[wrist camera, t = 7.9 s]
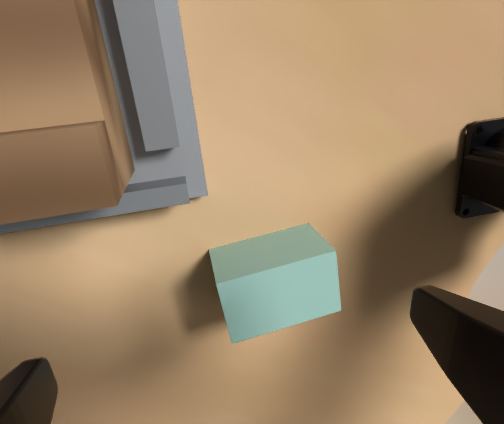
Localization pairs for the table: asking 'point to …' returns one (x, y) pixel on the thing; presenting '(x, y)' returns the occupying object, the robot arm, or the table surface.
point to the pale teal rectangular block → (276, 281)
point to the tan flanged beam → (58, 112)
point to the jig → (147, 109)
